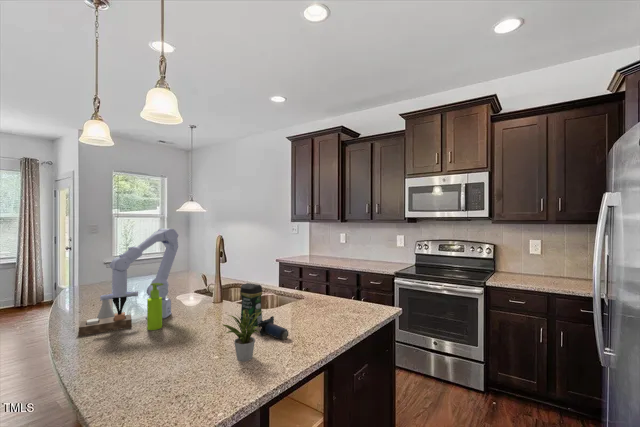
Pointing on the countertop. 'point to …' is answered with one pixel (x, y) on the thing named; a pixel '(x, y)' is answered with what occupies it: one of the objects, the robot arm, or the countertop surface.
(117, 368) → the countertop surface
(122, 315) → the salmon pink cube
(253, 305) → the coffee jar
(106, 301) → the flask
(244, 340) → the house plant
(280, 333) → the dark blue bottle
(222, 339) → the countertop surface
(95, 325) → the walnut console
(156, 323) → the soap dispenser
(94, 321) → the white cube
